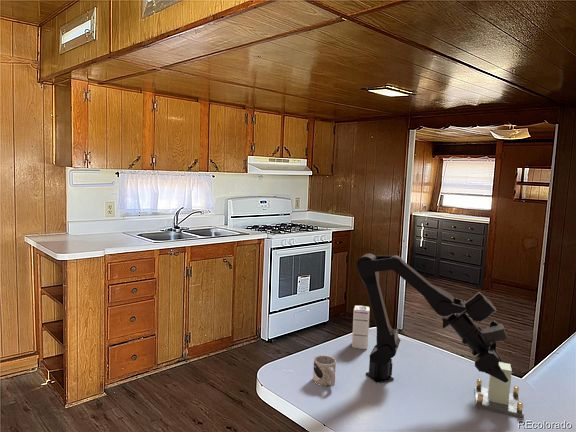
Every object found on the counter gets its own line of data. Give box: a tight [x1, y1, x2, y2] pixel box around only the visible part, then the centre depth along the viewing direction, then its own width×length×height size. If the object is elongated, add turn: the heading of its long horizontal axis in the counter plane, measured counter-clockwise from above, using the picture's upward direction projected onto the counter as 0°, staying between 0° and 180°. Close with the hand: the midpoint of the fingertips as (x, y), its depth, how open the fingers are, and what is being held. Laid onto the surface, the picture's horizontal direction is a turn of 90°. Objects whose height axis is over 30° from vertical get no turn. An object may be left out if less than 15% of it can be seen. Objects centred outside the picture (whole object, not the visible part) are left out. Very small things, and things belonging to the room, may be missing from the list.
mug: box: [312, 355, 337, 388], centre depth 135 cm, size 10×7×7 cm
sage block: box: [487, 362, 513, 405], centre depth 128 cm, size 5×5×10 cm
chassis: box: [474, 378, 525, 419], centre depth 128 cm, size 12×12×3 cm
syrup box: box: [351, 305, 371, 350], centre depth 165 cm, size 6×6×14 cm
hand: (505, 374), depth 127 cm, fingers open, 9 cm apart
